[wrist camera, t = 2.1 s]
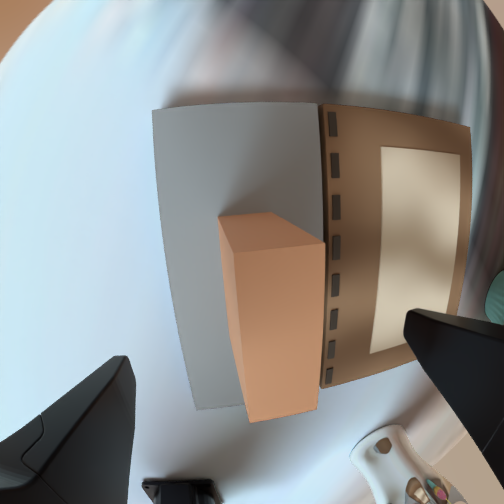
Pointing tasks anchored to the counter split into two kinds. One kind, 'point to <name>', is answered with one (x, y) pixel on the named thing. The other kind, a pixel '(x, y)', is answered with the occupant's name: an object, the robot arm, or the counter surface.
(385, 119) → the block
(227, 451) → the counter surface
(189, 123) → the gray plate with block
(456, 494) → the beer glass
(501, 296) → the cupcake
